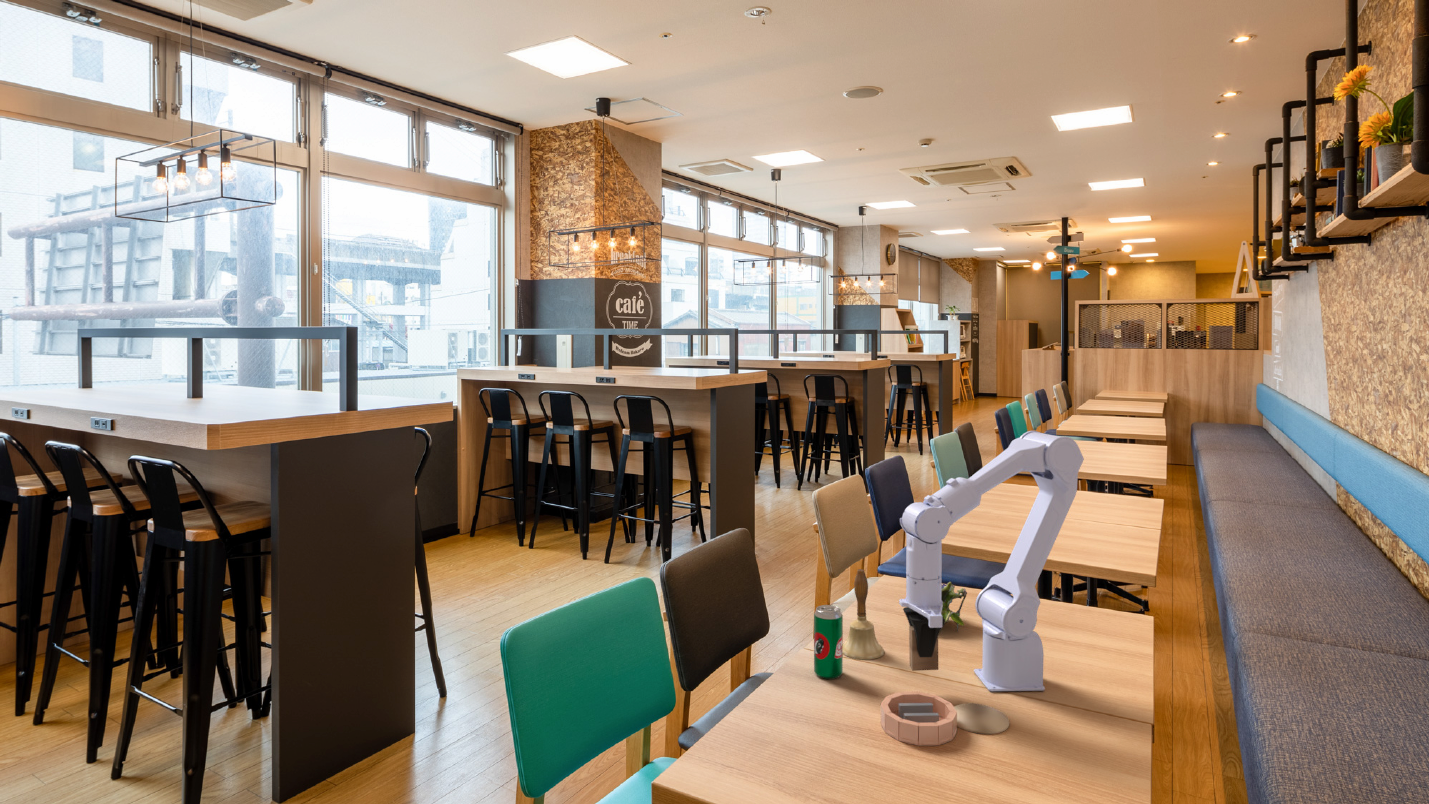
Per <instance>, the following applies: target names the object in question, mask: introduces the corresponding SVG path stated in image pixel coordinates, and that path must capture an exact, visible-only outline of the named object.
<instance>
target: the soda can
mask: <svg viewBox="0 0 1429 804" xmlns="http://www.w3.org/2000/svg"><path fill="white" fill-rule="evenodd" d="M841 611H842V610H841V608H840V607H838V606H836V605H832V604H822V605H818V606H817V607H816V609H815V612H814V613H813V671H814V673H815V675H817V677H819V678H821V679H825V680H834V679H837V678H839V677H841V675H842V674H843V666H844V665H843V662H844V660H843V656H844V655H843V643H844V641H843V640H844V639H843V636H844V635H843V632H844V630H843V628H844V627H843V623H844V622H843V621H844V617H843V616H844V615H843V613H842V612H841Z"/></svg>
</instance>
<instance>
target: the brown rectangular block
mask: <svg viewBox="0 0 1429 804" xmlns="http://www.w3.org/2000/svg"><path fill="white" fill-rule="evenodd" d="M908 630H909V631H908V632H909V633H908V634H909V635H908V636H909V637H908V640H909V642H908V643H909V646H908V647H909V652H908V653H909V667H910V669H911V671H915V672H916V671H939V636H938V637H937V640H936V644H935V648H934V652H933V655H932V657H920V656H919V654H918V650H917V644H916V636H915V632H914V628H913V626H910V625H909V626H908Z"/></svg>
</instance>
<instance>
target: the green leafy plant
mask: <svg viewBox="0 0 1429 804" xmlns="http://www.w3.org/2000/svg"><path fill="white" fill-rule="evenodd" d="M955 587H956V586H955V585H954V584H953V583H952V581H949V582H947V583H941V600H942V602H943V607H942V612H941V615H942V617H943V618H944V619H945V624H946V623H948V622H949V619H951V620H952V621H953V622H954V623H956V632H957V631H958V632H959V626H962V627H963V626H965V623H964V621H963V620H962V618H961V609H962V607H963V604H964V601H965V599H966V597H967V595H968V592H967V590H966V588H963V587H961V588H960V589H956V592H955ZM955 599H962V600H961V601H960V602H961V603H960V605H959V607H958V610H957V611H953V610H951V609H950V604H951V603H953V600H955Z"/></svg>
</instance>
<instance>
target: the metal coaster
mask: <svg viewBox="0 0 1429 804" xmlns="http://www.w3.org/2000/svg"><path fill="white" fill-rule="evenodd" d="M953 707H954V708H955V710H956V711H957V728H959V729H962V730H964V731H967V732H970V733H974V734H981V735H994V734H1000V733H1003V732H1005V731H1006V730H1007V729H1009V726H1010V719H1009V717H1008V716H1007V715H1006V714H1005V713H1004V712H1002V711H1001V710H999V709H998V708H996V707H993V706H989V705H986V704H982V703H981V704H979V703H973V702H971V703H970V702H969V703H968V702H967V703H959V704H957V705H953Z"/></svg>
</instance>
